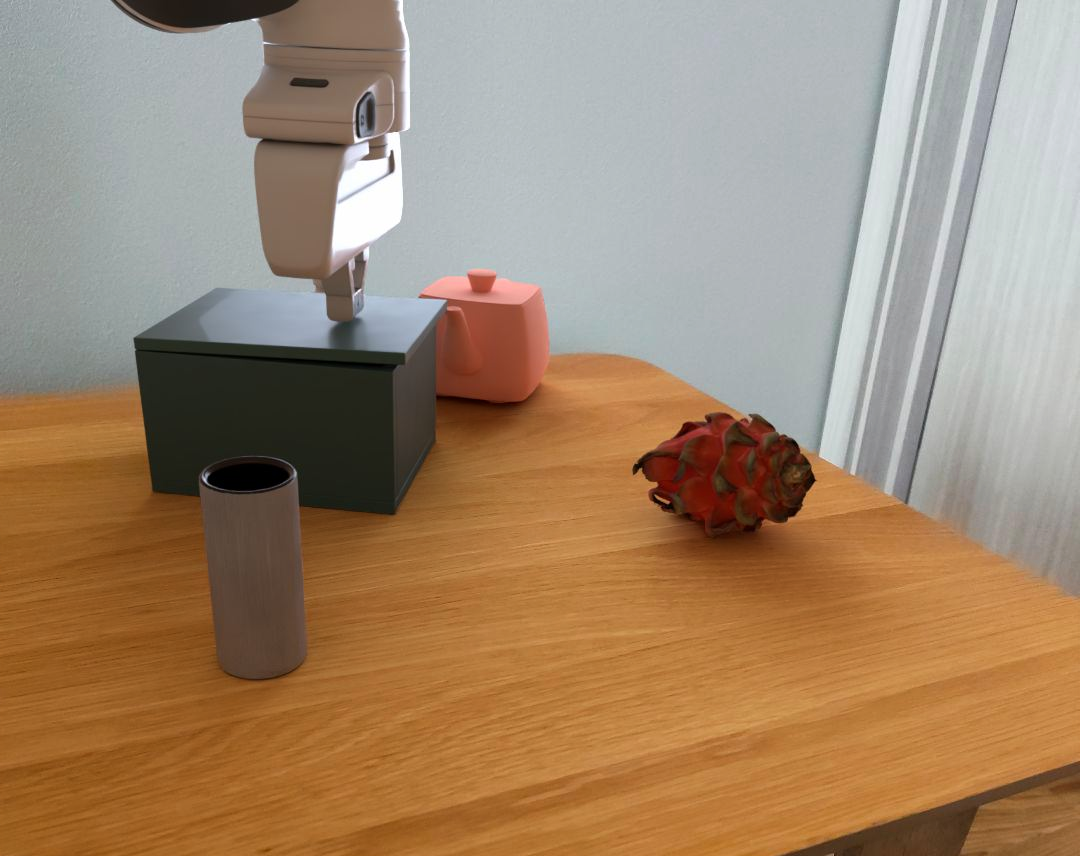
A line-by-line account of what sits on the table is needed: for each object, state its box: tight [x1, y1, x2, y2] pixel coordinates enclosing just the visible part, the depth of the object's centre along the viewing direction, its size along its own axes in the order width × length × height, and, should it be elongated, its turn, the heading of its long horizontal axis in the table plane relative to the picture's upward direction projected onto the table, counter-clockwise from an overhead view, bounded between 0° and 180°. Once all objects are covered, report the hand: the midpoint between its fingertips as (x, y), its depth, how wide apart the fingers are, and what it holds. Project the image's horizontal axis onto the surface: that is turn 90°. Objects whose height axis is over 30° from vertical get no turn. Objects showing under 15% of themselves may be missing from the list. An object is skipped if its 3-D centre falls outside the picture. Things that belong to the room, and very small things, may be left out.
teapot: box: [417, 268, 550, 404], centre depth 92 cm, size 12×18×10 cm, turn 167°
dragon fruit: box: [632, 411, 818, 538], centre depth 70 cm, size 8×8×12 cm
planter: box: [199, 456, 308, 680], centre depth 53 cm, size 4×4×10 cm
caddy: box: [134, 325, 437, 515], centre depth 75 cm, size 17×14×10 cm
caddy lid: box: [132, 287, 447, 365], centre depth 73 cm, size 18×14×1 cm
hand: (345, 316), depth 72 cm, fingers closed
